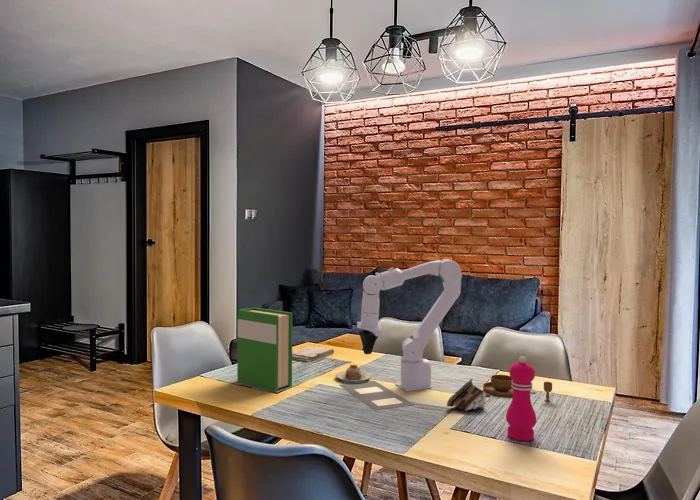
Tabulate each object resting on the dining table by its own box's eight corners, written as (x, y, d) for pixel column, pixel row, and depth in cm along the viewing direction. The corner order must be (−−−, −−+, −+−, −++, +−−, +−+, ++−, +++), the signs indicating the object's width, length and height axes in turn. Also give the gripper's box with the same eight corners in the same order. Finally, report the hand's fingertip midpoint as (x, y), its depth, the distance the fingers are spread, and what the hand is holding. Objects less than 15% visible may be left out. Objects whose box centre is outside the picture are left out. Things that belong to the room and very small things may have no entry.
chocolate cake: (465, 415, 143) (490, 382, 147) (445, 402, 148) (469, 371, 152) (471, 431, 149) (495, 399, 153) (452, 418, 154) (475, 387, 158)
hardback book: (291, 386, 169) (292, 312, 168) (275, 392, 163) (276, 315, 162) (253, 376, 179) (254, 307, 178) (237, 381, 173) (237, 309, 172)
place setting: (512, 384, 177) (512, 367, 176) (556, 402, 158) (556, 383, 158) (468, 389, 170) (469, 371, 170) (508, 409, 152) (509, 389, 151)
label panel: (374, 381, 176) (374, 380, 176) (414, 405, 153) (414, 404, 153) (338, 385, 171) (338, 384, 171) (374, 411, 147) (374, 410, 147)
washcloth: (284, 359, 205) (284, 352, 205) (310, 351, 221) (310, 343, 221) (309, 364, 199) (309, 356, 199) (334, 354, 215) (334, 347, 215)
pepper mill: (501, 430, 134) (502, 353, 133) (528, 430, 134) (530, 352, 133) (512, 442, 126) (514, 360, 126) (541, 441, 127) (543, 359, 126)
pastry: (331, 382, 174) (331, 368, 174) (341, 372, 186) (341, 360, 186) (366, 385, 171) (366, 371, 171) (374, 375, 182) (374, 362, 182)
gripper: (349, 308, 175) (347, 348, 176) (368, 316, 162) (366, 359, 163) (368, 308, 178) (366, 348, 179) (388, 316, 165) (386, 358, 165)
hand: (367, 353), depth 171 cm, fingers closed
